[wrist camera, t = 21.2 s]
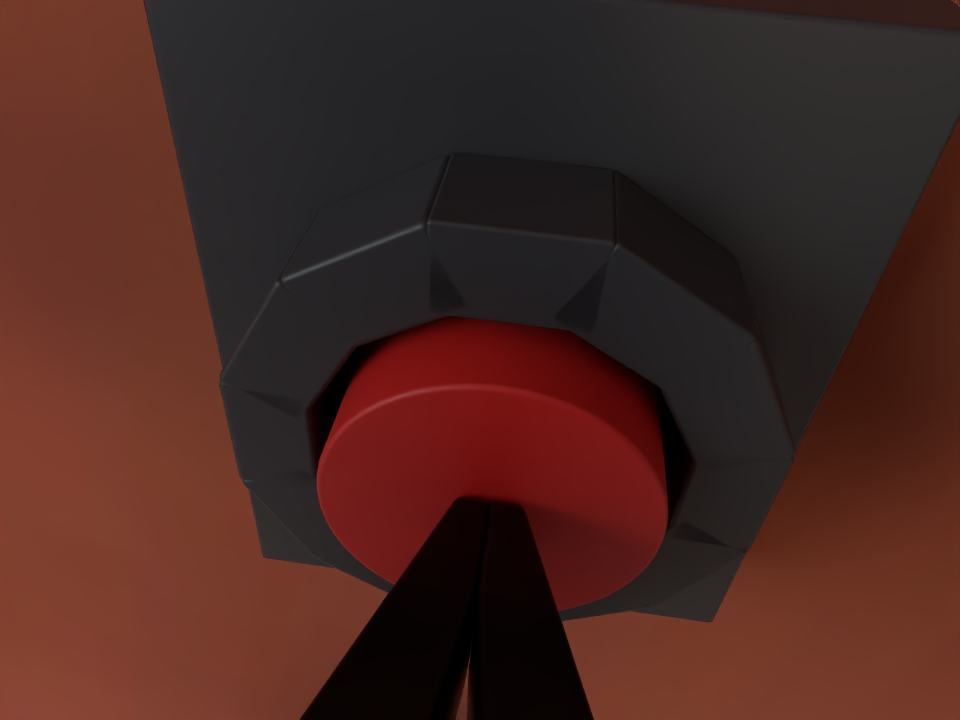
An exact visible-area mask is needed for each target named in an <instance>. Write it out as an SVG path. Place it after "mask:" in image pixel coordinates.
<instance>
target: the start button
mask: <svg viewBox="0 0 960 720" xmlns="http://www.w3.org/2000/svg"><path fill="white" fill-rule="evenodd" d="M317 493H318V498H319V502H320V507H321V509H322V512H323V514H324V517H325V519H326V522H327V523H328V525H329V527H330V528H331V530H332V531H333V533H334V535H335V536H336V537H337V539H338V540H339V541H340V542H341V543H342V545H343V546H344V547H345V548H346V549H347V550H348V551H349V552H350V553H351V554H352V555H353V556H354V557H355V558H356V559H357V560H358V561H360V562H361V563H362V564H363V565H365V566H366V567H367V568H369V569H370V570H371V571H373V572H374V573H376V574H377V575H379V576H380V577H382V578H384V579H385V580H387V581H389V582H391V583H392V584H394V585H395V583H396V582H397V581H398V579H399V578H400V576H401V575H402V573H403V572H404V571H405V569H406V568H407V566H408V565H409V564H410V562H411V561H412V559H413V558H414V556H415V555H416V554H417V552H418V551H419V549H420V548H421V546H422V545H423V544H424V542H425V541H426V539H427V538H428V537H429V535H430V534H431V532H432V531H433V529H434V528H435V527H436V525H437V524H438V522H439V521H440V520H441V518H442V517H443V515H444V514H445V512H446V511H447V510H448V508H449V507H450V505H451V504H452V503H453V501H454V500H455V499H456V498H458V497H461V496H463V497H470V498H478V499H484V500H486V501H487V502H488V503H489V507H490V504H491V503H492V502H495V501H499V502H506V503H513V504H519V505H521V506H522V507H523V508H524V509H525V512H526V514H527V517H528V521H529V524H530V527H531V530H532V533H533V536H534V539H535V542H536V545H537V548H538V551H539V554H540V557H541V560H542V563H543V566H544V569H545V572H546V575H547V578H548V582H549V585H550V588H551V591H552V594H553V597H554V600H555V603H556V606H557V609H558V611H560V610H565V609H570V608H574V607H578V606H581V605H584V604H588V603H591V602H594V601H596V600H598V599H601V598H603V597H606V596H608V595H610V594H612V593H614V592H615V591H617V590H619V589H621V588H623V587H624V586H625V585H627V584H628V583H630V582H631V581H632V580H634V579H635V578H636V577H637V576H638V575H639V574H640V573H641V572H642V571H643V570H644V569H645V568H647V566H648V565H649V564H650V562H651V561H652V560H653V558H654V557H655V555H656V554H657V552H658V550H659V548H660V545H661V543H662V541H663V539H664V536H665V532H666V528H667V524H668V499H667V487H666V475H665V464H664V452H663V441H662V429H661V417H660V410H659V404H658V399H657V396H656V393H655V391H654V388H653V385H652V383H651V382H650V381H649V380H647V379H646V378H644V377H642V376H641V375H639V374H638V373H636V372H634V371H633V370H631V369H630V368H628V367H627V366H625V365H623V364H622V363H620V362H619V361H617V360H615V359H614V358H612V357H611V356H609V355H607V354H606V353H604V352H603V351H601V350H600V349H598V348H596V347H595V346H593V345H592V344H590V343H588V342H587V341H585V340H584V339H582V338H581V337H579V336H577V335H576V334H574V333H573V332H571V331H568V330H560V329H552V328H544V327H536V326H528V325H520V324H512V323H504V322H496V321H488V320H480V319H472V318H464V317H456V316H447V317H444V318H441V319H438V320H435V321H432V322H429V323H426V324H423V325H420V326H417V327H414V328H411V329H408V330H405V331H402V332H399V333H396V334H393V335H390V336H387V337H384V338H381V339H378V340H375V341H372V342H371V343H370V344H369V345H368V347H367V348H366V349H365V351H364V352H363V354H362V356H361V357H360V359H359V360H358V363H357V365H356V367H355V370H354V372H353V375H352V377H351V380H350V383H349V385H348V388H347V390H346V393H345V395H344V398H343V400H342V403H341V406H340V408H339V411H338V413H337V416H336V418H335V421H334V424H333V426H332V429H331V431H330V434H329V436H328V439H327V441H326V444H325V447H324V449H323V452H322V454H321V457H320V459H319V464H318V470H317Z"/></svg>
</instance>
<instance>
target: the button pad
mask: <svg viewBox="0 0 960 720" xmlns="http://www.w3.org/2000/svg"><path fill="white" fill-rule="evenodd" d="M144 5H145V10H146V14H147V19H148V24H149V28H150V33H151V38H152V42H153V47H154V52H155V56H156V61H157V65H158V70H159V75H160V79H161V84H162V89H163V93H164V98H165V103H166V107H167V112H168V117H169V121H170V126H171V130H172V135H173V140H174V144H175V149H176V154H177V158H178V163H179V168H180V172H181V177H182V182H183V186H184V191H185V195H186V200H187V205H188V209H189V214H190V219H191V223H192V228H193V233H194V237H195V242H196V247H197V251H198V256H199V261H200V265H201V270H202V274H203V279H204V284H205V288H206V293H207V298H208V302H209V307H210V312H211V316H212V321H213V326H214V330H215V335H216V339H217V344H218V349H219V353H220V358H221V363H222V367H223V369H222V371H221V373H220V382H219V386H220V390H221V394H222V399H223V403H224V408H225V412H226V417H227V421H228V426H229V430H230V435H231V439H232V444H233V448H234V453H235V457H236V462H237V466H238V471H239V475H240V477H241V478H242V479H243V484H244V485H245V486H246V487H247V488H248V489H249V493H250V497H251V502H252V507H253V511H254V516H255V521H256V525H257V530H258V535H259V539H260V544H261V548H262V553H263V556H264V557H265V558H270V559H277V560H284V561H291V562H298V563H304V564H311V565H318V566H325V567H332V568H337V569H339V570H341V571H343V572H345V573H347V574H349V575H352V576H354V577H356V578H358V579H360V580H362V581H364V582H367V583H369V584H371V585H373V586H375V587H377V588H379V589H381V590H384V591H386V592H388V593H389V592H390V590H391V589H392V588H393V586H394V584H392V583H391V582H389V581H387V580H385V579H384V578H382V577H380V576H379V575H377V574H376V573H374V572H373V571H371V570H370V569H369V568H367V567H366V566H365V565H363V564H362V563H361V562H360V561H358V560H357V559H356V558H355V557H354V556H353V555H352V554H351V553H350V552H349V551H348V550H347V549H346V548H345V547H344V546H343V545H342V543H341V542H340V541H339V540H338V539H337V537H336V536H335V535H334V533H333V531H332V530H331V528H330V527H329V525H328V523H327V522H326V519H325V517H324V514H323V512H322V509H321V507H320V502H319V498H318V493H317V470H318V464H319V459H320V457H321V454H322V452H323V449H324V447H325V444H326V441H327V439H328V436H329V434H330V431H331V429H332V426H333V424H334V421H335V418H336V416H337V413H338V411H339V408H340V406H341V403H342V400H343V398H344V395H345V393H346V390H347V388H348V385H349V383H350V380H351V377H352V375H353V372H354V370H355V367H356V365H357V363H358V360H359V359H360V357H361V356H362V354H363V352H364V351H365V349H366V348H367V347H368V345H369V344H370V343H371V342H372V341H375V340H378V339H381V338H384V337H387V336H390V335H393V334H396V333H399V332H402V331H405V330H408V329H411V328H414V327H417V326H420V325H423V324H426V323H429V322H432V321H435V320H438V319H441V318H444V317H447V316H456V317H464V318H472V319H480V320H488V321H496V322H504V323H512V324H520V325H528V326H536V327H544V328H552V329H560V330H568V331H571V332H573V333H574V334H576V335H577V336H579V337H581V338H582V339H584V340H585V341H587V342H588V343H590V344H592V345H593V346H595V347H596V348H598V349H600V350H601V351H603V352H604V353H606V354H607V355H609V356H611V357H612V358H614V359H615V360H617V361H619V362H620V363H622V364H623V365H625V366H627V367H628V368H630V369H631V370H633V371H634V372H636V373H638V374H639V375H641V376H642V377H644V378H646V379H647V380H649V381H650V382H651V383H652V385H653V388H654V391H655V393H656V396H657V399H658V404H659V410H660V417H661V429H662V441H663V452H664V464H665V475H666V487H667V499H668V524H667V528H666V532H665V536H664V539H663V541H662V543H661V545H660V548H659V550H658V552H657V554H656V555H655V557H654V558H653V560H652V561H651V562H650V564H649V565H648V566H647V568H645V569H644V570H643V571H642V572H641V573H640V574H639V575H638V576H637V577H636V578H635V579H634V580H632V581H631V582H630V583H628V584H627V585H625V586H624V587H623V588H621V589H619V590H617V591H615V592H614V593H612V594H610V595H608V596H606V597H603V598H601V599H598V600H596V601H594V602H591V603H588V604H584V605H581V606H578V607H574V608H570V609H565V610H560V611H558V612H559V615H560V618H561V621H566V620H572V619H579V618H586V617H592V616H599V615H605V614H612V613H619V612H625V611H634V612H641V613H648V614H655V615H662V616H669V617H675V618H682V619H689V620H696V621H703V622H712V621H713V619H714V617H715V615H716V613H717V611H718V608H719V606H720V604H721V602H722V600H723V598H724V596H725V594H726V592H727V590H728V588H729V586H730V584H731V582H732V580H733V578H734V576H735V574H736V572H737V570H738V568H739V566H740V564H741V562H742V560H743V558H744V556H745V554H746V552H747V550H748V549H750V547H751V545H752V543H753V541H754V539H755V537H756V535H757V533H758V531H759V529H760V527H761V525H762V523H763V521H764V519H765V517H766V515H767V513H768V511H769V509H770V507H771V505H772V503H773V501H774V499H775V497H776V495H777V493H778V491H779V489H780V487H781V485H782V482H783V480H784V478H785V476H786V474H787V472H788V470H789V468H790V466H791V464H792V462H793V460H794V454H795V452H796V450H797V448H798V446H799V444H800V442H801V440H802V438H803V435H804V433H805V431H806V429H807V427H808V425H809V423H810V421H811V419H812V417H813V415H814V413H815V411H816V409H817V407H818V405H819V403H820V401H821V399H822V397H823V395H824V393H825V391H826V389H827V387H828V385H829V383H830V381H831V378H832V376H833V374H834V372H835V370H836V368H837V366H838V364H839V362H840V360H841V358H842V356H843V354H844V352H845V350H846V348H847V346H848V344H849V342H850V340H851V338H852V336H853V334H854V332H855V330H856V328H857V326H858V324H859V321H860V319H861V317H862V315H863V313H864V311H865V309H866V307H867V305H868V303H869V301H870V299H871V297H872V295H873V293H874V291H875V289H876V287H877V285H878V283H879V281H880V279H881V277H882V275H883V273H884V271H885V269H886V267H887V264H888V262H889V260H890V258H891V256H892V254H893V252H894V250H895V248H896V246H897V244H898V242H899V240H900V238H901V236H902V234H903V232H904V230H905V228H906V226H907V224H908V222H909V220H910V218H911V216H912V214H913V212H914V210H915V208H916V205H917V203H918V201H919V199H920V197H921V195H922V193H923V191H924V189H925V187H926V185H927V183H928V181H929V179H930V177H931V175H932V173H933V171H934V169H935V167H936V165H937V163H938V161H939V159H940V157H941V155H942V153H943V151H944V148H945V146H946V144H947V142H948V140H949V138H950V136H951V134H952V132H953V130H954V128H955V126H956V124H957V122H958V120H959V118H960V7H959V6H958V5H956V4H955V3H954V2H952V1H951V0H144Z"/></svg>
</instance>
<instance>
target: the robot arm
mask: <svg viewBox="0 0 960 720" xmlns="http://www.w3.org/2000/svg"><path fill="white" fill-rule="evenodd" d="M471 644H472V646H471ZM470 652H471V655H470ZM469 658H470V664H469ZM468 664H469V675H468V702H467V720H594V719H593V716H592V713H591V710H590V707H589V704H588V700H587V697H586V694H585V691H584V688H583V685H582V682H581V679H580V676H579V673H578V670H577V667H576V664H575V661H574V658H573V655H572V652H571V649H570V646H569V643H568V639H567V636H566V633H565V630H564V627H563V624H562V621H561V618H560V615H559V612H558V609H557V606H556V603H555V600H554V597H553V594H552V591H551V588H550V585H549V582H548V578H547V575H546V572H545V569H544V566H543V563H542V560H541V557H540V554H539V551H538V548H537V545H536V542H535V539H534V536H533V533H532V530H531V527H530V524H529V521H528V517H527V514H526V512H525V509H524V508H523V507H522V506H521V505H519V504H513V503H506V502H499V501H495V502H492V503H491V504H490V507H489V503H488V502H487V501H486V500H484V499H478V498H470V497H463V496H461V497H458V498H456V499H455V500H454V501H453V503H452V504H451V505H450V507H449V508H448V510H447V511H446V512H445V514H444V515H443V517H442V518H441V520H440V521H439V522H438V524H437V525H436V527H435V528H434V529H433V531H432V532H431V534H430V535H429V537H428V538H427V539H426V541H425V542H424V544H423V545H422V546H421V548H420V549H419V551H418V552H417V554H416V555H415V556H414V558H413V559H412V561H411V562H410V564H409V565H408V566H407V568H406V569H405V571H404V572H403V573H402V575H401V576H400V578H399V579H398V581H397V582H396V583H395V585H394V586H393V588H392V589H391V590H390V592H389V593H388V595H387V596H386V598H385V599H384V600H383V602H382V603H381V605H380V606H379V608H378V609H377V610H376V612H375V613H374V615H373V616H372V617H371V619H370V620H369V622H368V623H367V625H366V626H365V627H364V629H363V630H362V632H361V633H360V634H359V636H358V637H357V639H356V640H355V642H354V643H353V644H352V646H351V647H350V649H349V650H348V652H347V653H346V654H345V656H344V657H343V659H342V660H341V661H340V663H339V664H338V666H337V667H336V669H335V670H334V671H333V673H332V674H331V676H330V677H329V679H328V680H327V681H326V683H325V684H324V686H323V687H322V688H321V690H320V691H319V693H318V694H317V696H316V697H315V698H314V700H313V701H312V703H311V704H310V705H309V707H308V708H307V710H306V711H305V713H304V714H303V715H302V717H301V718H300V720H455V719H456V715H457V711H458V707H459V703H460V700H461V696H462V692H463V688H464V683H465V679H466V675H467V670H468Z"/></svg>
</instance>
